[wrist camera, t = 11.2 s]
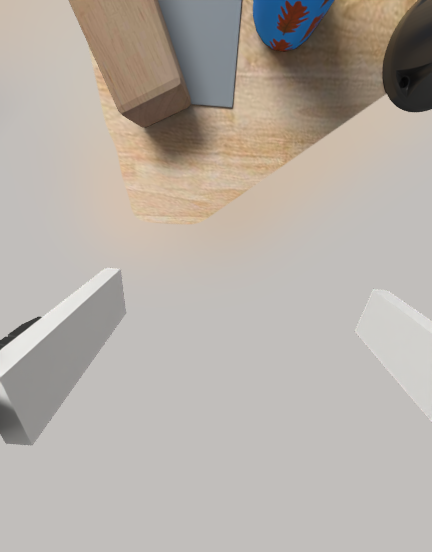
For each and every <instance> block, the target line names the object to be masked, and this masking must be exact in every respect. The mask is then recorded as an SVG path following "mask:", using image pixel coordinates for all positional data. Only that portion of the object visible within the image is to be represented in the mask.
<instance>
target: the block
mask: <svg viewBox="0 0 432 552" xmlns="http://www.w3.org/2000/svg"><path fill="white" fill-rule="evenodd" d="M69 2H70V4H71V7H72V9H73V11H74V13H75V16H76V17H77V20H78V22H79V24H80V27H81V29H82V31H83V33H84V35H85V38H86V40H87V42H88V44H89V47H90V49H91V51H92V53H93V55H94V58H95V60H96V62H97V64H98V66H99V69H100V71H101V73H102V75H103V78H104V80H105V82H106V84H107V86H108V89H109V91H110V93H111V95H112V97H113V100H114V102H115V104H116V106H117V109H118V111H119V112H120V113H121V114H122V115H123V116H125V117H126V118H128V119H129V120H131V121H133V122H134V123H136V124H138V125H139V126H141V127H148V126H150V125H152V124H154V123H156V122H158V121H160V120H163V119H165V118H167V117H169V116H171V115H173V114H175V113H177V112H179V111H181V110H184V109H186V108H188V106H189V105H190V104H191V98H190V95H189V92H188V89H187V86H186V83H185V80H184V77H183V74H182V71H181V68H180V65H179V62H178V59H177V56H176V53H175V50H174V47H173V44H172V41H171V38H170V35H169V32H168V29H167V26H166V23H165V20H164V17H163V14H162V11H161V8H160V5H159V2H158V0H69Z"/></svg>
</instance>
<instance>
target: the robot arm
mask: <svg viewBox="0 0 432 552" xmlns="http://www.w3.org/2000/svg"><path fill="white" fill-rule="evenodd" d="M383 81H384V86H385V90H386V93H387V95H388V97H389V98H390V100H391V101H392V102H393V103H394V104H395V105H396V106H397V107H398V108H400V109H402V110H405V111H408V112H423V111H427V110H430V109H432V0H418V1H417V2H416V3H415V4H414V5H413V6H412V7H411V8H410V9H409V10H408V11H407V12H406V14H405V15H404V16H403V18H402V19H401V20H400V22H399V24H398V25H397V27H396V29H395V31H394V33H393V34H392V37H391V39H390V41H389V44H388V47H387V50H386V54H385V58H384V64H383ZM125 314H126V309H125V301H124V293H123V285H122V277H121V270H120V269H114V268H105V269H104V270H102V271H101V272H100V273H98V274H97V275H96V276H95V277H93V278H92V279H91V280H89V281H88V282H87V283H86V284H84V285H83V286H82V287H80V288H79V289H78V290H77V291H75V292H74V293H73V294H72V295H70V296H69V297H68V298H66V299H65V300H64V301H63V302H61V303H60V304H59V305H57V306H56V307H55V308H53V309H52V310H51V311H50V312H48V313H47V314H46V315H44V316H43V317H37V318H35V319H33V320H31V321H29V322H26V323H24V324H22V325H21V326H19V327H18V328H17V329H15V330H14V331H13V332H11V333H10V334H8V337H4V338H3V339H2V340H0V434H1V436H2V438H3V439H4V441H5V443H7V444H20V445H33V444H34V442H35V441H36V439H37V438H38V437H39V435H40V434H41V433H42V431H43V429H44V428H45V427H46V425H47V424H48V423H49V421H50V420H51V418H52V417H53V416H54V414H55V413H56V411H57V410H58V409H59V407H60V406H61V404H62V403H63V401H64V400H65V399H66V397H67V396H68V394H69V393H70V391H71V390H72V389H73V387H74V386H75V385H76V383H77V382H78V380H79V379H80V378H81V376H82V375H83V373H84V372H85V370H86V369H87V368H88V366H89V365H90V363H91V362H92V360H93V359H94V358H95V356H96V355H97V354H98V352H99V351H100V349H101V348H102V346H103V345H104V344H105V342H106V341H107V339H108V338H109V337H110V335H111V334H112V332H113V331H114V330H115V328H116V327H117V325H118V324H119V323H120V321H121V320H122V318H123V317H124V315H125ZM355 332H356V334H357V335H358V336H359V337H360V338H361V340H362V341H363V342H364V343H365V344H366V346H367V347H368V348H369V349H370V350H371V351H372V352H373V354H374V355H375V356H376V357H377V358H378V359H379V361H380V362H381V363H382V364H383V365H384V367H385V368H386V369H387V370H388V371H389V372H390V374H391V375H392V376H393V377H394V378H395V379H396V381H397V382H398V383H399V384H400V385H401V387H402V388H403V389H404V390H405V391H406V392H407V394H408V395H409V396H410V397H411V398H412V400H413V401H414V402H415V403H416V404H417V405H418V407H419V408H420V409H421V410H422V411H423V412H424V414H425V415H426V416H427V417H428V418H429V420H430V421H431V422H432V321H431V320H429V319H428V318H427V317H425V316H424V315H422V314H421V313H420V312H418V311H416V310H415V309H414V308H412V307H411V306H409V305H408V304H406V303H405V302H404V301H402V300H401V299H399V298H398V297H396V296H395V295H393V294H392V293H391V292H389V291H388V290H376V289H373V290H372V293H371V295H370V297H369V300H368V302H367V304H366V306H365V309H364V311H363V313H362V316H361V318H360V320H359V323H358V325H357V327H356V329H355Z"/></svg>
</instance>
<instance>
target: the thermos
mask: <svg viewBox="0 0 432 552" xmlns="http://www.w3.org/2000/svg"><path fill="white" fill-rule="evenodd" d="M333 2H334V0H253V18H254V22H255V26H256V30H257V32H258V34H259V36H260V37H261V39H262V41H263V42H264V43H265V44H266V45H268V46H269V47H270V48H272V49H273V50H278V51H283V52H285V51H288V50H292V49H295V48H297V47H298V46H299V45H301V44H302V43H303V42H305V41H306V40H307V39H308V37H309V36H310V35H311V33H312V32H313V31H314V29H315V28H316V27H317V25H318V24H319V22H320V21H321V19H322V18H323V17H324V15H325V14H326V12H327V11H328V9H329V8H330V6H331V5H332V3H333Z"/></svg>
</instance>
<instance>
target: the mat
mask: <svg viewBox="0 0 432 552" xmlns="http://www.w3.org/2000/svg"><path fill="white" fill-rule="evenodd" d="M158 2H159V5H160V8H161V11H162V14H163V17H164V20H165V23H166V26H167V29H168V32H169V35H170V38H171V41H172V44H173V47H174V50H175V53H176V56H177V59H178V62H179V65H180V68H181V71H182V74H183V77H184V80H185V83H186V86H187V89H188V92H189V95H190V98H191V104H194V105H205V106H217V107H229V108H232V103H233V92H234V80H235V69H236V57H237V45H238V34H239V22H240V11H241V0H158Z"/></svg>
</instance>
